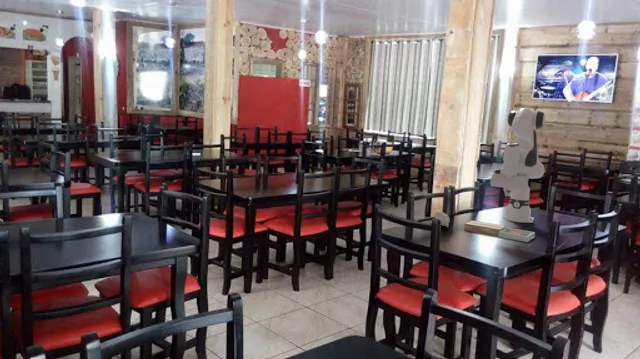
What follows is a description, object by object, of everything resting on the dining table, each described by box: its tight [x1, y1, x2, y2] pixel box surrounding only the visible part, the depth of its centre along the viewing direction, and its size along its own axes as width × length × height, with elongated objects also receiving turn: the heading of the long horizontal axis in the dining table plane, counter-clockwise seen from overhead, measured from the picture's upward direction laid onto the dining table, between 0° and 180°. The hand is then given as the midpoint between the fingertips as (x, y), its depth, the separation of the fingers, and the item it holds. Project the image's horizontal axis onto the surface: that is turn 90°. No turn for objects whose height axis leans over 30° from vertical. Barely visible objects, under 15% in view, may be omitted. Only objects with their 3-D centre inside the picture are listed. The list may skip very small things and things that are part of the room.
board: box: [463, 220, 507, 237], centre depth 317 cm, size 13×20×4 cm, turn 55°
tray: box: [497, 227, 536, 243], centre depth 307 cm, size 15×16×3 cm
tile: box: [509, 231, 523, 236], centre depth 307 cm, size 6×6×2 cm
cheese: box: [434, 209, 451, 228], centre depth 320 cm, size 15×7×15 cm
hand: (507, 196), depth 308 cm, fingers closed
